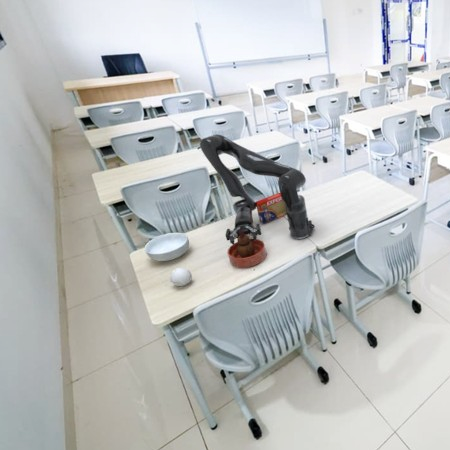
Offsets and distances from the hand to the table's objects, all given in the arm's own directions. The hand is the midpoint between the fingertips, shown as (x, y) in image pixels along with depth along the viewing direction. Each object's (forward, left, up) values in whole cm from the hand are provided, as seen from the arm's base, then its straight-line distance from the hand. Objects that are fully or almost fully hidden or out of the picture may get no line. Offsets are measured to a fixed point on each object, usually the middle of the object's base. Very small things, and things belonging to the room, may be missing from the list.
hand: (243, 240), depth 150 cm
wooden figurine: (0, -2, -10) cm, 10 cm away
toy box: (-14, -36, -11) cm, 40 cm away
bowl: (0, -2, -11) cm, 11 cm away
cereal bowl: (+33, -16, -11) cm, 38 cm away
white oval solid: (+26, +8, -11) cm, 29 cm away
